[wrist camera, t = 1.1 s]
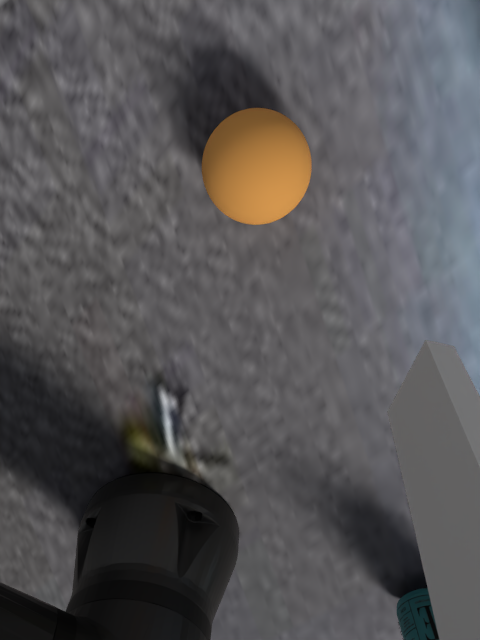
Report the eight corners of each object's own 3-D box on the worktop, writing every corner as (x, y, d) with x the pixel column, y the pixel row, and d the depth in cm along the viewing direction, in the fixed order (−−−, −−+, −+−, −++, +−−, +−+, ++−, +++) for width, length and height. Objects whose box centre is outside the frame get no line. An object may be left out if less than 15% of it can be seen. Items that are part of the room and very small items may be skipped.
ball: (218, 219, 27) (207, 244, 22) (200, 118, 24) (181, 118, 19) (310, 205, 26) (322, 227, 21) (301, 100, 24) (312, 95, 18)
